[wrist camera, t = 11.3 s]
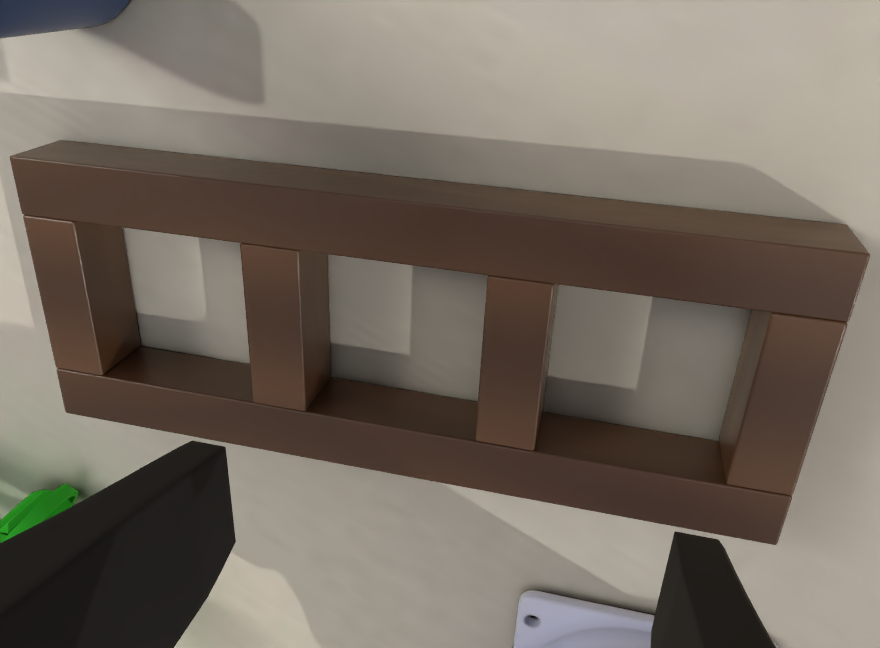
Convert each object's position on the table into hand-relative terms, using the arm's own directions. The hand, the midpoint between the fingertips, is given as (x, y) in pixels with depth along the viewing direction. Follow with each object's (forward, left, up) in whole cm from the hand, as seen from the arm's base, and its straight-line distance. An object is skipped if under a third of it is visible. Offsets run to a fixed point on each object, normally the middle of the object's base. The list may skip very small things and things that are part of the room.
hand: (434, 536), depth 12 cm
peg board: (-1, +3, -9) cm, 10 cm away
